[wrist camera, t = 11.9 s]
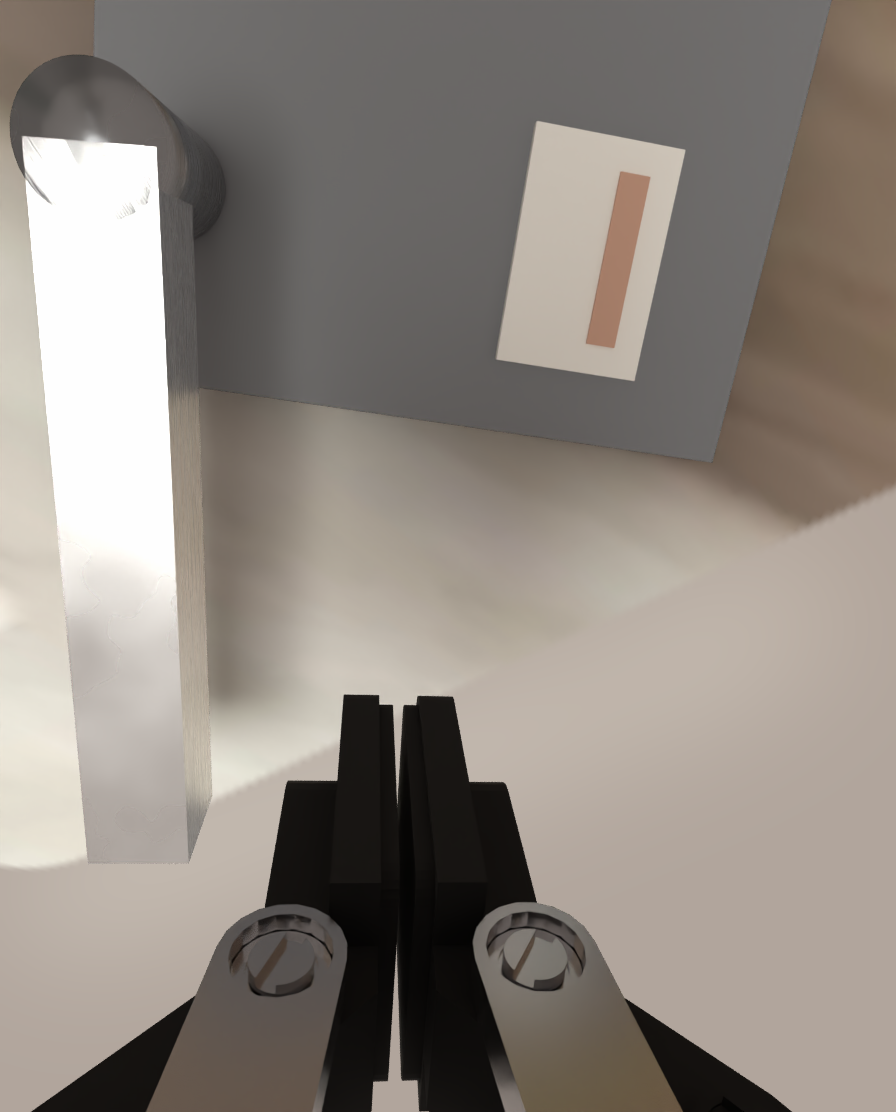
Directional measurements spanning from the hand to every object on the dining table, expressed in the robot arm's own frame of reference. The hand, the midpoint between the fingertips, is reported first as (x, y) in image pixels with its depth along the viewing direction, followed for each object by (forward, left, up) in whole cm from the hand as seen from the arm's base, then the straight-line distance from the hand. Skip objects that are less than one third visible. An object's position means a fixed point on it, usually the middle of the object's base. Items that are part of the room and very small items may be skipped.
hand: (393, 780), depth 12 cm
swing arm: (-2, -6, -12) cm, 14 cm away
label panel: (-14, 0, -14) cm, 19 cm away
